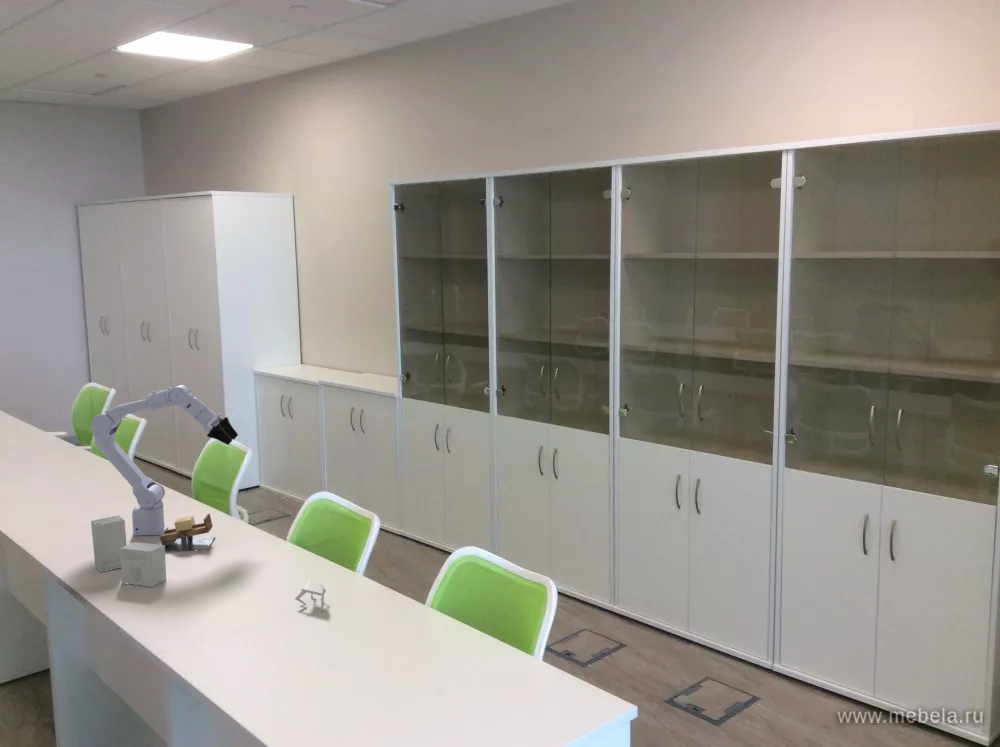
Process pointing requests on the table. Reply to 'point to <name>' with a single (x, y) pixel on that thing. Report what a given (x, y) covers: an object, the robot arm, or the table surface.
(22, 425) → the table surface
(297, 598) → the origami figure
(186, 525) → the block
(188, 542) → the pivot stand
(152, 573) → the skincare box
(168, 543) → the balance beam
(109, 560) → the skincare box
